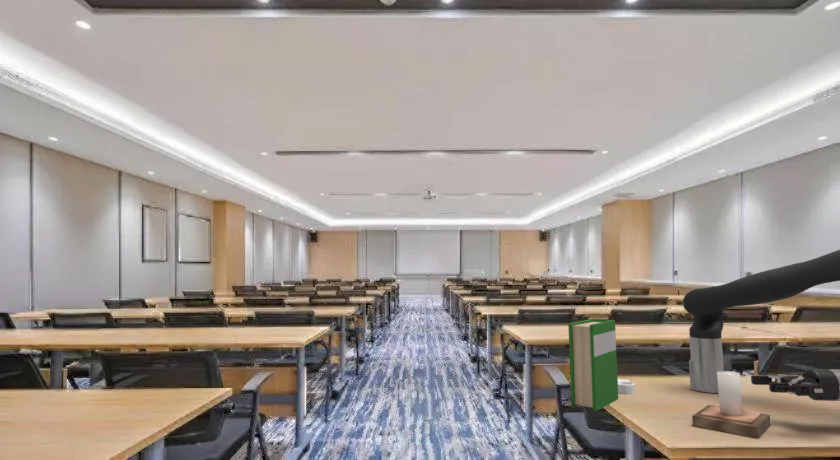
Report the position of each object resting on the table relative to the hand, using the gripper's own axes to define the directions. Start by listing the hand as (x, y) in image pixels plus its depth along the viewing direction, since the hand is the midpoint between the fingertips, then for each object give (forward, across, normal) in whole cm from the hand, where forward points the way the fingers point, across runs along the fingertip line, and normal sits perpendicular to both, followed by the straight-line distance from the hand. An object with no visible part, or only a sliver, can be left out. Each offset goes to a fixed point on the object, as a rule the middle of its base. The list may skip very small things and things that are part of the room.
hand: (760, 383), depth 125 cm
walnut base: (+8, 0, +10) cm, 13 cm away
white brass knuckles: (+29, -39, +11) cm, 49 cm away
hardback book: (+37, -19, +11) cm, 43 cm away
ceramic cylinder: (+7, 0, +8) cm, 11 cm away
